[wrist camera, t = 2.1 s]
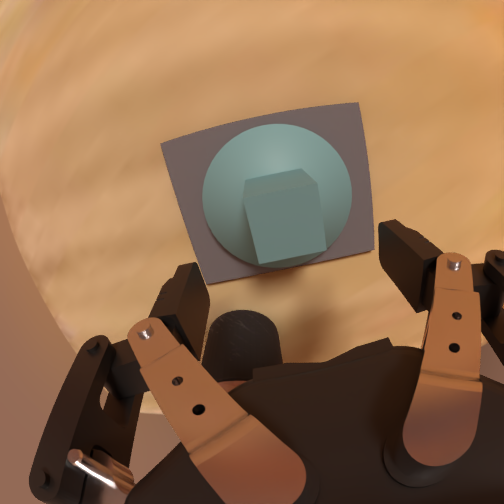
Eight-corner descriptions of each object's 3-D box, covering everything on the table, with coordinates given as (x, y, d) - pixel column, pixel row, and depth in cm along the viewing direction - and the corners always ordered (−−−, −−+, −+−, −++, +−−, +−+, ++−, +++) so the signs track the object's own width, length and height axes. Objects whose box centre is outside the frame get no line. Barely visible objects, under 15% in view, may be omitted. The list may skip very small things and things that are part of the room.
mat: (355, 102, 17) (358, 102, 17) (371, 246, 22) (374, 249, 22) (162, 143, 19) (160, 143, 18) (207, 280, 24) (206, 284, 24)
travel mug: (296, 332, 27) (324, 529, 9) (247, 368, 29) (244, 536, 12) (238, 293, 25) (223, 532, 7) (192, 336, 27) (155, 524, 9)
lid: (335, 113, 17) (368, 110, 12) (353, 247, 22) (380, 286, 17) (187, 144, 18) (161, 152, 13) (226, 273, 23) (218, 319, 18)
